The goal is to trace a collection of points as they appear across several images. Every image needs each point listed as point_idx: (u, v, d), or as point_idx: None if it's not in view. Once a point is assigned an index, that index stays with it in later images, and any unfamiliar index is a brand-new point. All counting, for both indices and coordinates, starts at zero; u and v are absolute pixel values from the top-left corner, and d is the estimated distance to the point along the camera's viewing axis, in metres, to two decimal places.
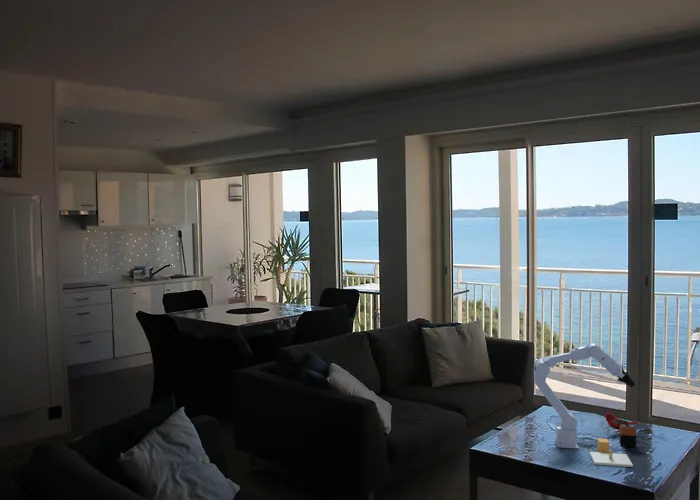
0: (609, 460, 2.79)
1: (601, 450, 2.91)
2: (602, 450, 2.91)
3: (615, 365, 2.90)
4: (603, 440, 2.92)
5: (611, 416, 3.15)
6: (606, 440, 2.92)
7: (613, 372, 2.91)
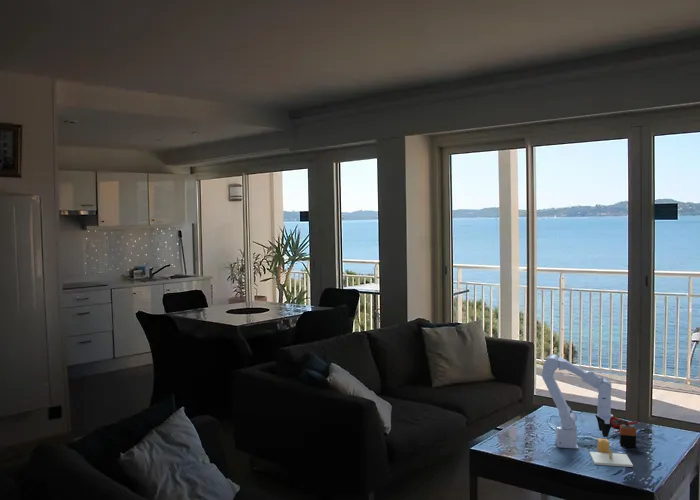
0: (609, 460, 2.79)
1: (601, 450, 2.91)
2: (602, 450, 2.91)
3: (608, 411, 2.89)
4: (603, 440, 2.92)
5: None
6: (606, 440, 2.92)
7: (601, 414, 2.89)
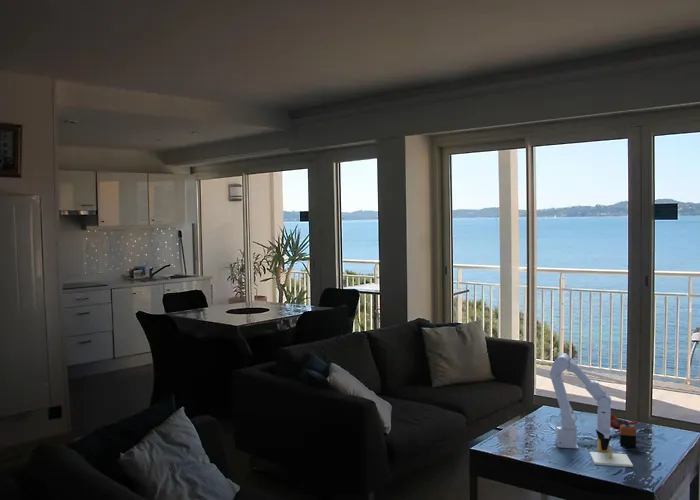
0: (609, 460, 2.79)
1: (601, 450, 2.91)
2: (602, 450, 2.91)
3: (608, 425, 2.89)
4: None
5: (611, 416, 3.15)
6: None
7: (601, 428, 2.90)
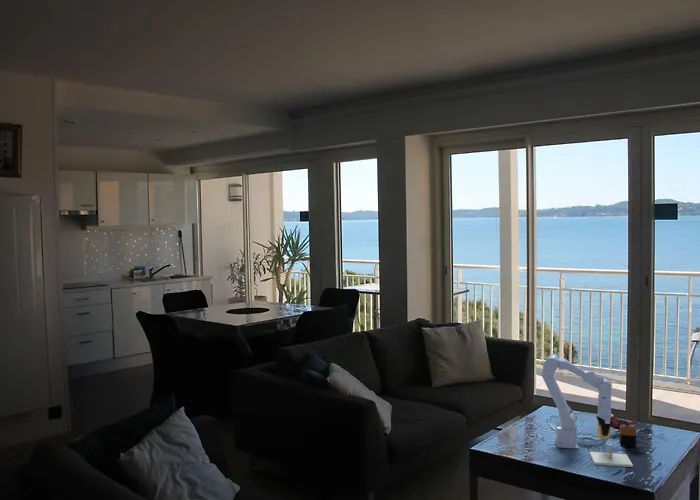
0: (609, 460, 2.79)
1: (602, 436, 2.90)
2: (603, 436, 2.90)
3: (608, 411, 2.88)
4: None
5: None
6: None
7: (601, 414, 2.89)
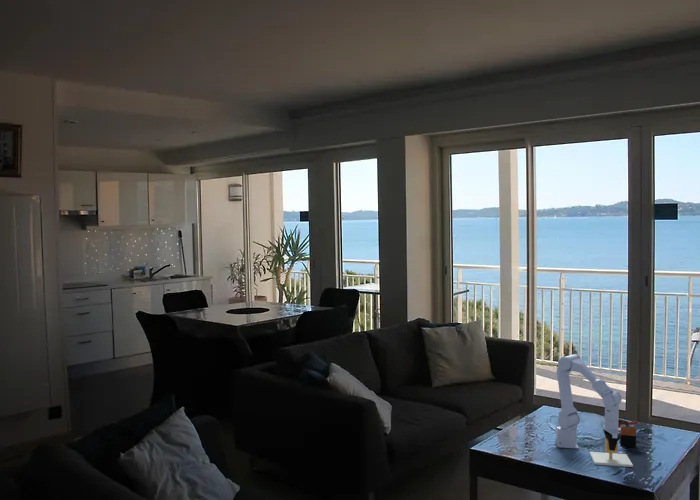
0: (609, 460, 2.79)
1: (609, 450, 2.79)
2: (610, 450, 2.79)
3: (616, 424, 2.78)
4: None
5: None
6: None
7: (608, 428, 2.79)
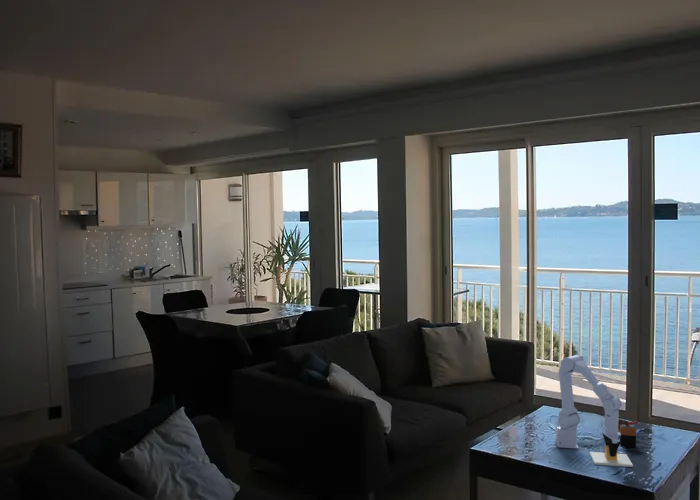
0: (609, 460, 2.79)
1: (609, 457, 2.80)
2: (610, 457, 2.80)
3: (616, 429, 2.78)
4: None
5: None
6: None
7: (608, 433, 2.79)
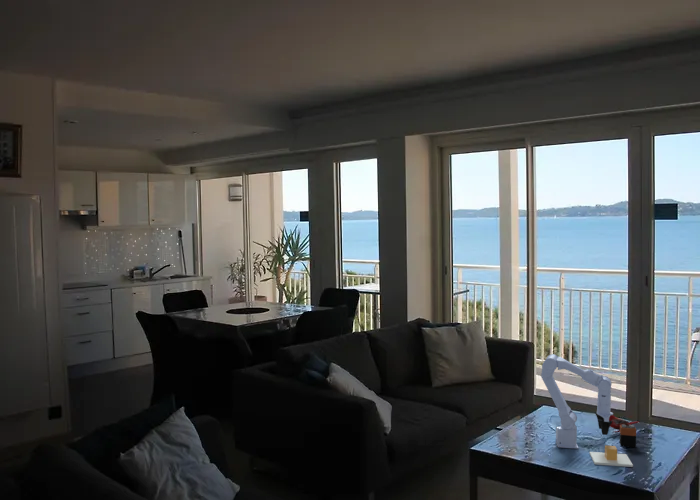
0: (609, 460, 2.79)
1: (609, 457, 2.80)
2: (610, 457, 2.80)
3: (608, 409, 2.88)
4: (611, 447, 2.81)
5: (611, 416, 3.15)
6: (614, 447, 2.81)
7: (601, 412, 2.89)
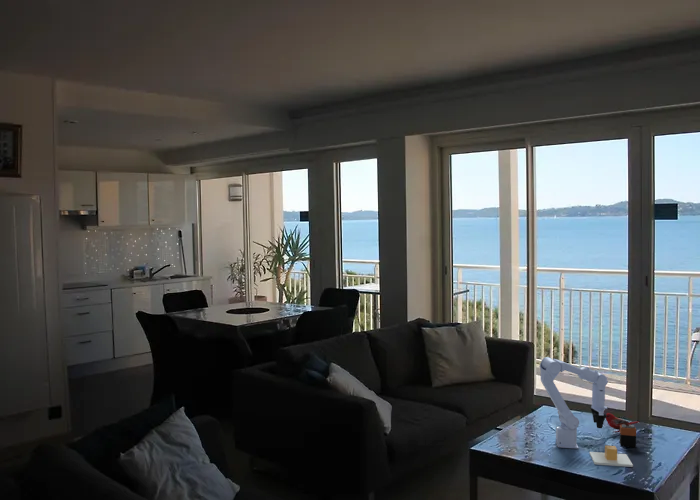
0: (609, 460, 2.79)
1: (609, 457, 2.80)
2: (610, 457, 2.80)
3: (602, 403, 2.97)
4: (611, 447, 2.81)
5: (611, 416, 3.15)
6: (614, 447, 2.81)
7: (595, 406, 2.97)
